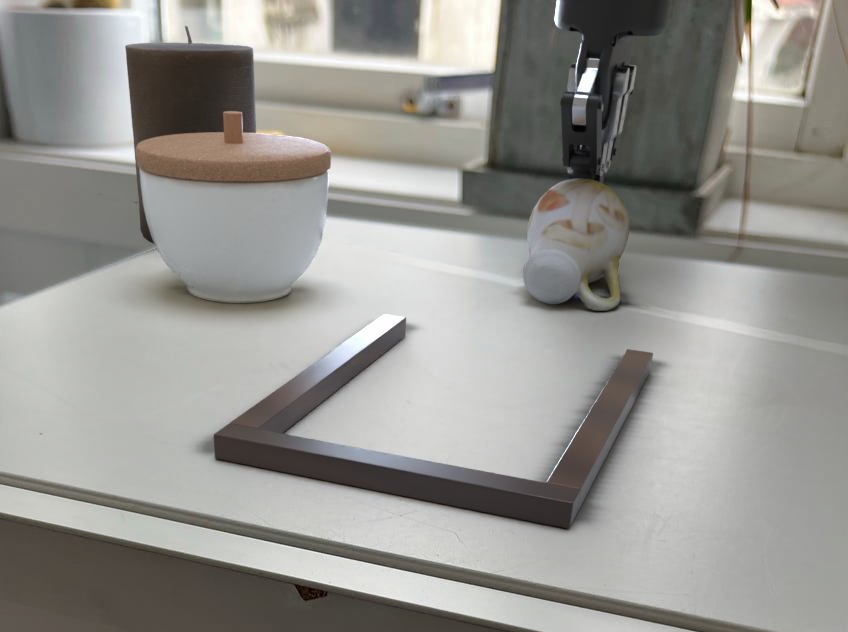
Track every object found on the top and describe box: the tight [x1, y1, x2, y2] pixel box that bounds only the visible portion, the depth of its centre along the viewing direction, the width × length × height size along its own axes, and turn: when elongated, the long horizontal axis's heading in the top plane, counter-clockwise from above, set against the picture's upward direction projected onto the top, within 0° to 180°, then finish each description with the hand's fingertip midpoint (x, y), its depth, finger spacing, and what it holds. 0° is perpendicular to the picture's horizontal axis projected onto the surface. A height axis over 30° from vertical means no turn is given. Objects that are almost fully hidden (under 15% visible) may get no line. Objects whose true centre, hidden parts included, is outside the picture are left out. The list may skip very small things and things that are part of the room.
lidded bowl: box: [134, 111, 332, 304], centre depth 67 cm, size 13×13×11 cm
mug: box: [522, 178, 630, 312], centre depth 71 cm, size 8×10×10 cm
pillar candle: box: [124, 25, 257, 245], centre depth 79 cm, size 10×10×15 cm
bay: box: [213, 313, 654, 530], centre depth 52 cm, size 22×16×1 cm
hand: (579, 227), depth 75 cm, fingers closed
